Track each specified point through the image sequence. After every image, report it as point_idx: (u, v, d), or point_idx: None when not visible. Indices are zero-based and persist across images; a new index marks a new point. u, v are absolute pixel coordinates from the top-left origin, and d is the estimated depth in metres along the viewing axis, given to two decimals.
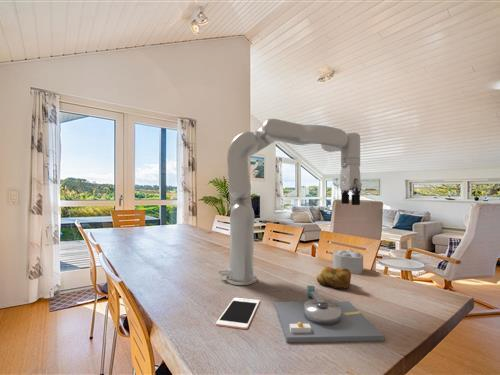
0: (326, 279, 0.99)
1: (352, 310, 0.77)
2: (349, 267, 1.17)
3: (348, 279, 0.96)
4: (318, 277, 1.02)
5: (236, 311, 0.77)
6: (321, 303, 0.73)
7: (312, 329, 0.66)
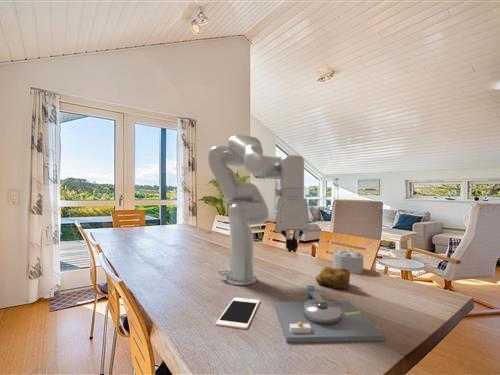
0: (325, 279, 0.99)
1: (352, 310, 0.77)
2: (349, 267, 1.17)
3: (347, 279, 0.96)
4: (317, 277, 1.02)
5: (236, 311, 0.77)
6: (321, 303, 0.73)
7: (312, 329, 0.66)
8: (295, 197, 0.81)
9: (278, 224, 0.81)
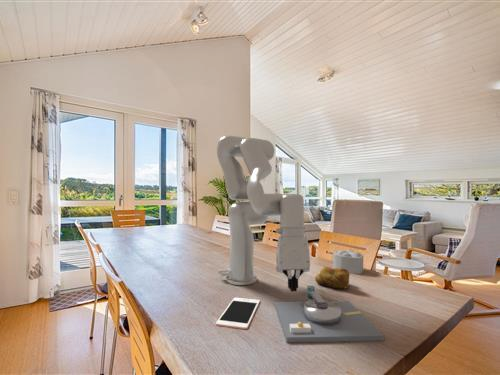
0: (324, 279, 0.99)
1: (352, 310, 0.77)
2: (349, 267, 1.17)
3: (346, 279, 0.96)
4: (316, 277, 1.02)
5: (236, 311, 0.77)
6: (321, 303, 0.73)
7: (312, 329, 0.66)
8: (295, 237, 0.80)
9: (279, 264, 0.81)
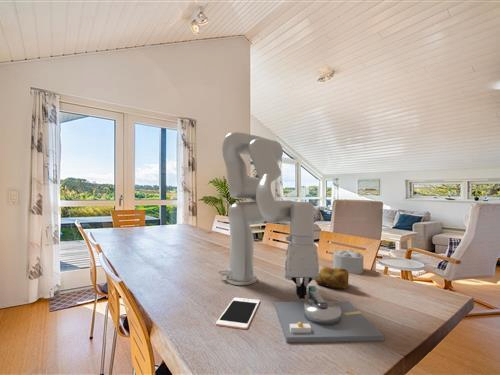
0: (323, 279, 0.99)
1: (352, 310, 0.77)
2: (349, 267, 1.17)
3: (345, 279, 0.96)
4: None
5: (236, 311, 0.77)
6: (321, 303, 0.73)
7: (312, 329, 0.66)
8: (305, 245, 0.81)
9: (288, 272, 0.81)
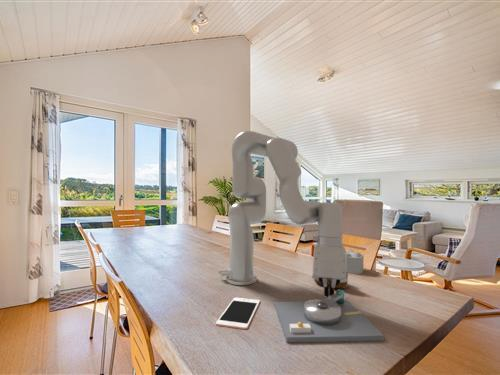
0: None
1: (352, 310, 0.77)
2: (349, 267, 1.17)
3: None
4: None
5: (236, 311, 0.77)
6: (321, 303, 0.73)
7: (312, 329, 0.66)
8: (330, 246, 0.80)
9: (313, 271, 0.82)
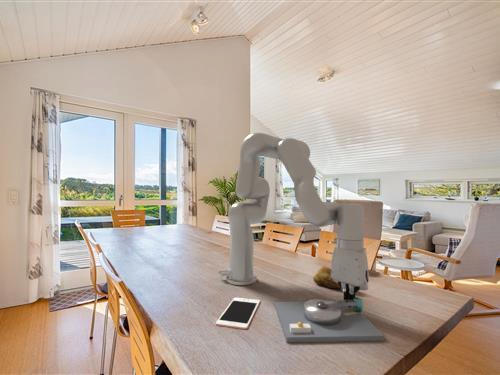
0: (321, 279, 0.99)
1: (352, 310, 0.77)
2: None
3: None
4: (314, 277, 1.02)
5: (236, 311, 0.77)
6: (322, 303, 0.73)
7: (312, 329, 0.66)
8: (344, 249, 0.76)
9: (331, 273, 0.81)
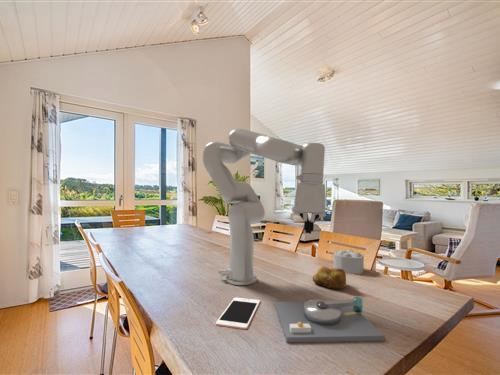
0: (321, 279, 0.99)
1: (352, 310, 0.77)
2: (350, 267, 1.17)
3: (342, 279, 0.96)
4: (313, 277, 1.02)
5: (236, 311, 0.77)
6: (322, 303, 0.73)
7: (312, 329, 0.66)
8: (310, 182, 0.86)
9: (295, 206, 0.89)
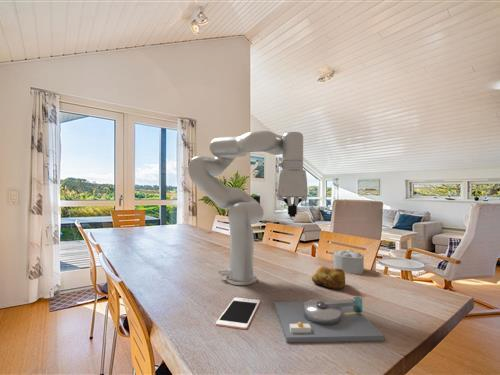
0: (320, 279, 0.99)
1: (352, 310, 0.77)
2: (350, 267, 1.17)
3: (341, 279, 0.95)
4: (313, 276, 1.02)
5: (236, 311, 0.77)
6: (322, 303, 0.73)
7: (312, 329, 0.66)
8: (295, 168, 0.92)
9: (280, 192, 0.93)
